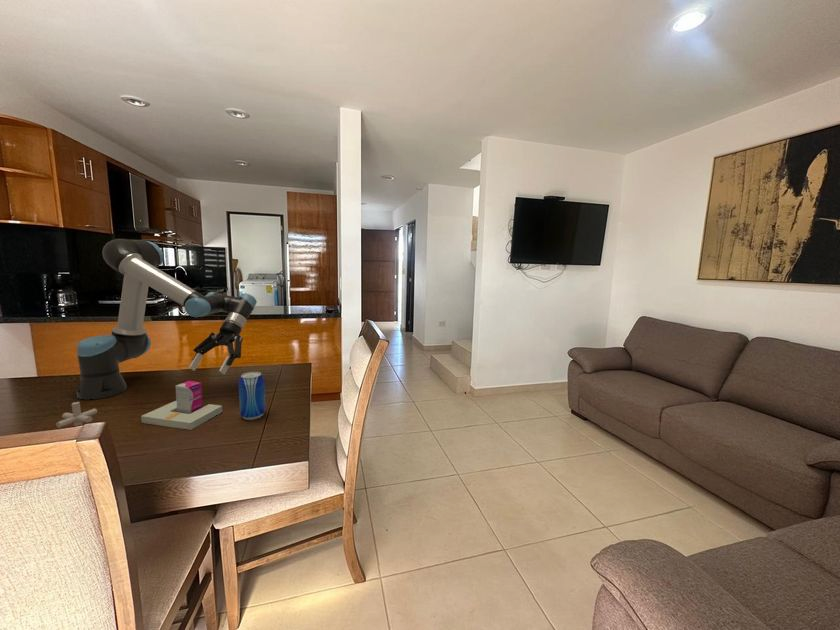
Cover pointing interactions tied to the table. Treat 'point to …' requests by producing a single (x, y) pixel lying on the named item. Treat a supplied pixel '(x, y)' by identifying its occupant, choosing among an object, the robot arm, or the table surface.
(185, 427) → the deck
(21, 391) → the table surface
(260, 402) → the beer can
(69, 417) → the pipe connector
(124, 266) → the robot arm
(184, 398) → the supplement box
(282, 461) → the table surface
